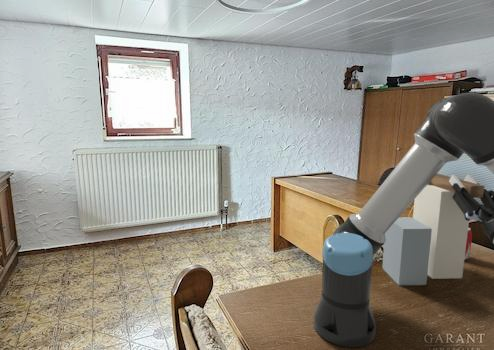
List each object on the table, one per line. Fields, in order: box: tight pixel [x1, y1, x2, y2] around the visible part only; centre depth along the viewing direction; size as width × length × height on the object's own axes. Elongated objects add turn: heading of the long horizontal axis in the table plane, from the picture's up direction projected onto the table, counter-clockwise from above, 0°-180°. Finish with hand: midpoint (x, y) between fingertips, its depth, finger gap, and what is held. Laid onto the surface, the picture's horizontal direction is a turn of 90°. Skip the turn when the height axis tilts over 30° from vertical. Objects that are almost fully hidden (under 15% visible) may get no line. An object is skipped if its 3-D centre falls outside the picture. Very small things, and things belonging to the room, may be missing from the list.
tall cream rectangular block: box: [412, 185, 470, 280], centre depth 111 cm, size 10×15×30 cm, turn 1°
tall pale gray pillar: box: [381, 216, 432, 286], centre depth 106 cm, size 9×12×19 cm
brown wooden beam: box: [427, 173, 485, 199], centre depth 103 cm, size 9×22×4 cm, turn 1°
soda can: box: [464, 226, 473, 261], centre depth 121 cm, size 7×7×12 cm
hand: (459, 177), depth 100 cm, fingers closed on brown wooden beam, 4 cm apart
